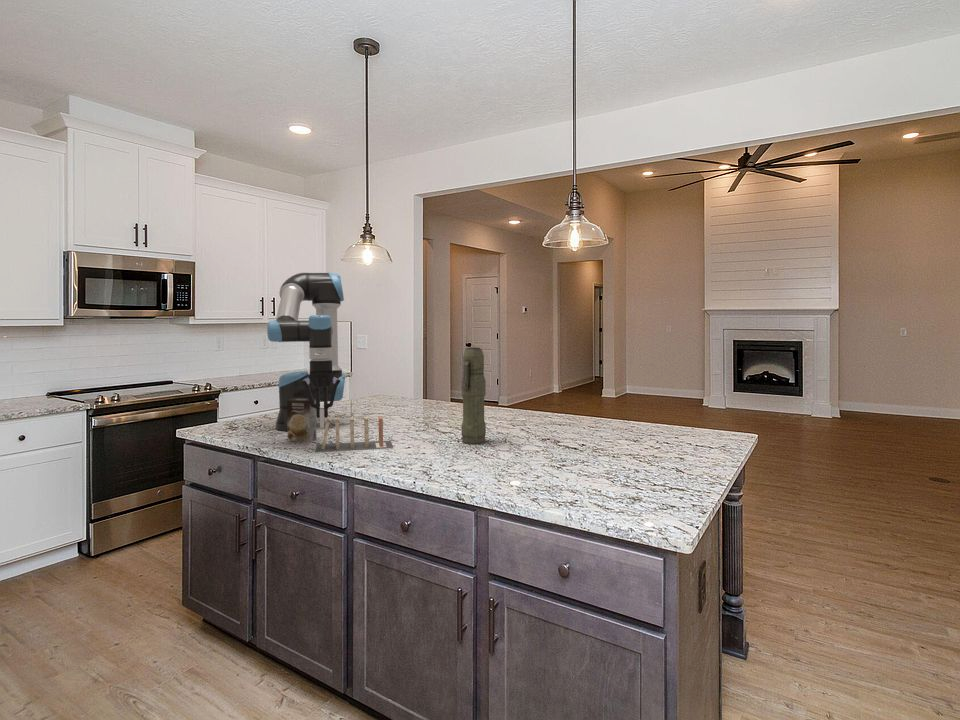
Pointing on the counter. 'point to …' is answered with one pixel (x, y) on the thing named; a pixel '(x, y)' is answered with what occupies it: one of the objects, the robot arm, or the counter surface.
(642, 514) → the counter surface
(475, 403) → the thermos
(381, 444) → the domino
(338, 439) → the domino
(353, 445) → the domino
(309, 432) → the coffee box
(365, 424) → the domino
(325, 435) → the domino
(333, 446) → the mat
